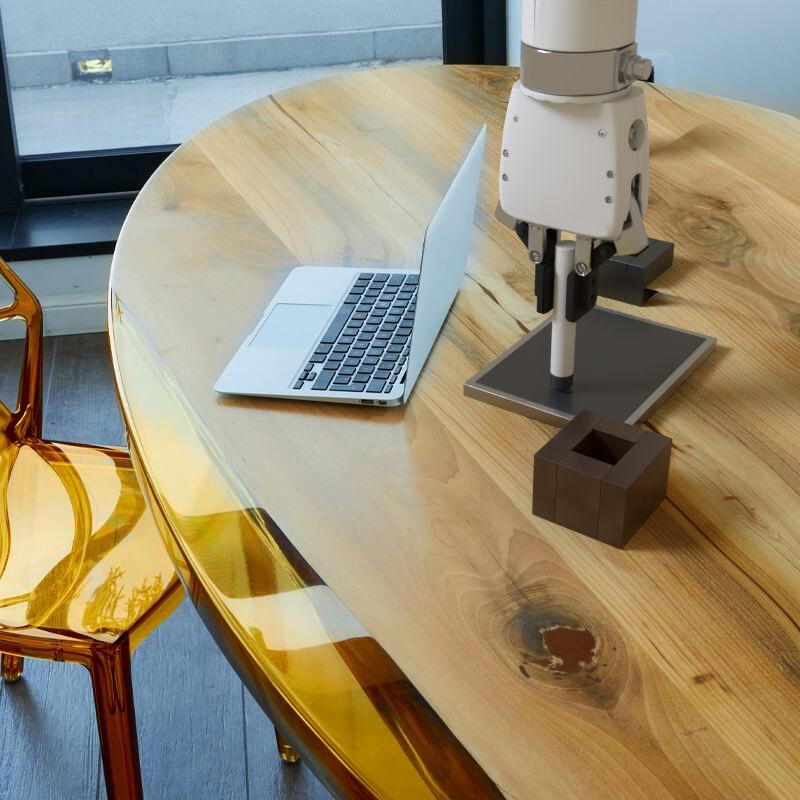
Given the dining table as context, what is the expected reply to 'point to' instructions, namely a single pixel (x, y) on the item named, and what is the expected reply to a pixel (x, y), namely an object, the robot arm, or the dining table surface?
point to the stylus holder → (635, 273)
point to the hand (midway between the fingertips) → (564, 309)
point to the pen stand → (601, 477)
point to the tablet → (594, 369)
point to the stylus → (562, 319)
